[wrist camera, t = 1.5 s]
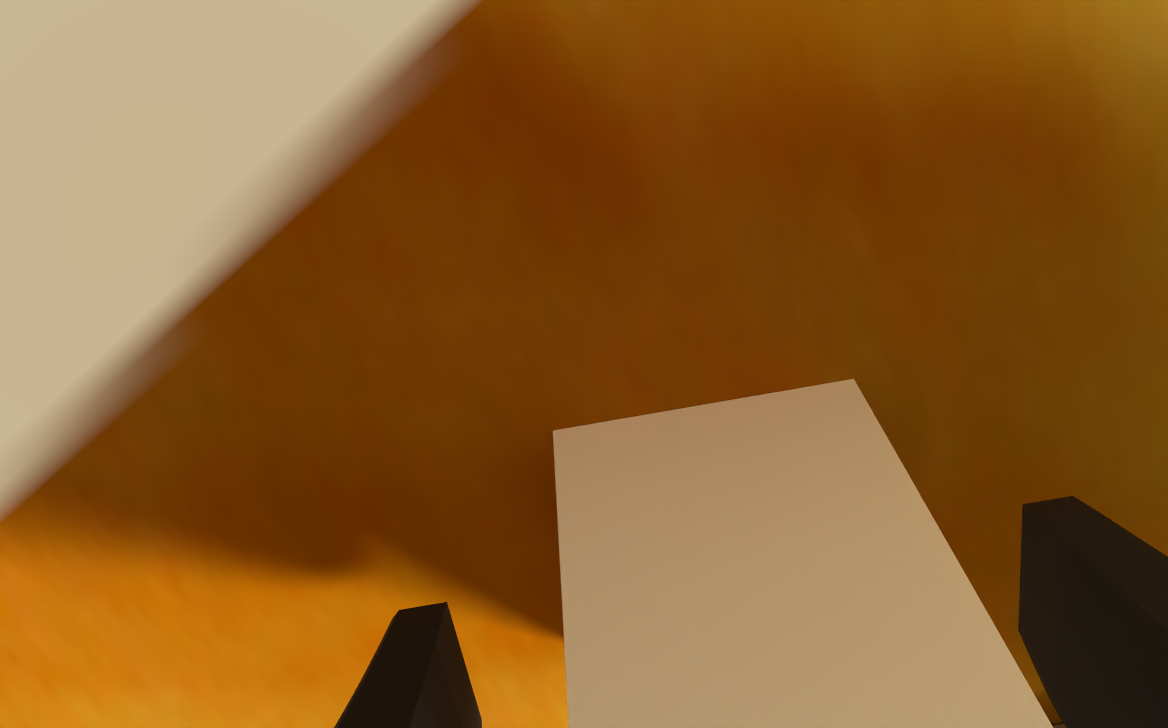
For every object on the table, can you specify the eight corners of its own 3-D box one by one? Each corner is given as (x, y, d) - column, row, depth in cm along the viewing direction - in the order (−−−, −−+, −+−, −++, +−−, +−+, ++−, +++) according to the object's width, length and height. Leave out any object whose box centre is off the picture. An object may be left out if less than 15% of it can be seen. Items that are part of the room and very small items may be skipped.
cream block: (853, 377, 14) (1054, 730, 9) (866, 610, 16) (1039, 1015, 11) (552, 429, 14) (573, 807, 9) (600, 654, 16) (640, 1075, 11)
